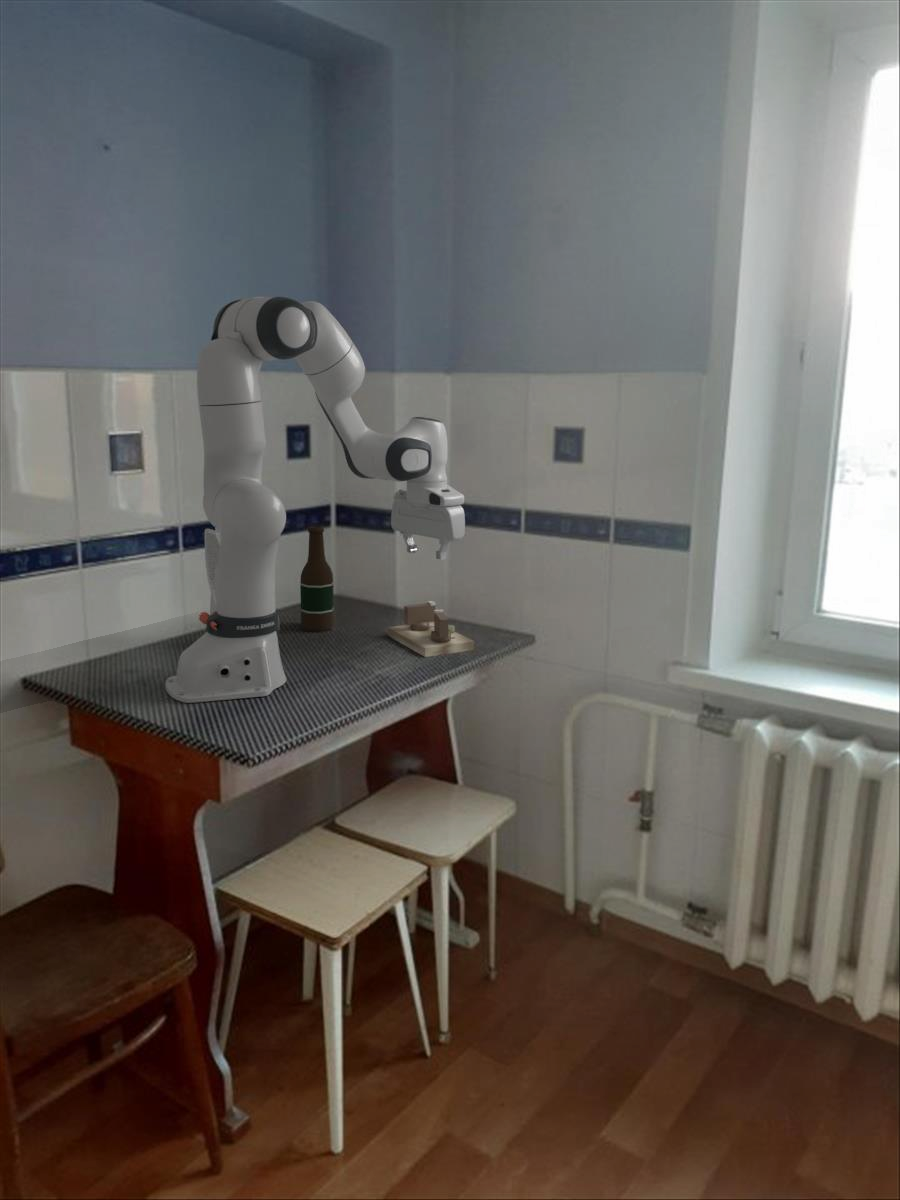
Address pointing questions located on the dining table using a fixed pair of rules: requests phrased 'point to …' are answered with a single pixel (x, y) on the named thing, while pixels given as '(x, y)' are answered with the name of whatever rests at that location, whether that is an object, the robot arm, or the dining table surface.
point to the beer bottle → (316, 586)
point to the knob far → (419, 615)
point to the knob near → (440, 627)
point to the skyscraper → (212, 561)
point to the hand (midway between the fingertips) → (426, 555)
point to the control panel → (425, 645)
